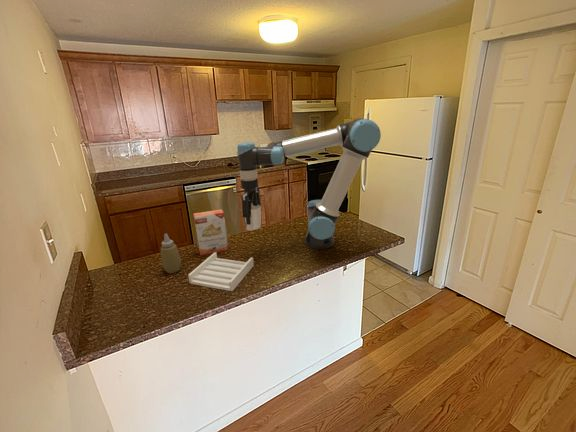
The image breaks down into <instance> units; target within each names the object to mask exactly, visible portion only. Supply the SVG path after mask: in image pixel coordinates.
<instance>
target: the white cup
mask: <svg viewBox="0 0 576 432" xmlns="http://www.w3.org/2000/svg"><path fill="white" fill-rule="evenodd" d="M251 217H252V224H253V231H254V230H259V229H261V227H262V205H261V206H260V205H257V206H254V205H253V204H252V206H251ZM244 221H245V222H246V218H244ZM246 227H247V225H246Z"/></svg>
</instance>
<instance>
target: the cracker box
mask: <svg viewBox="0 0 576 432" xmlns="http://www.w3.org/2000/svg"><path fill="white" fill-rule="evenodd" d="M193 219H194V227H195V231H196V239H197V244H198V251H199V255H200V256H205V255H210V254H211V255H212V254H213V253H214V252H216V253H221V252H226V251H229V246H228V245H229V243H228V239H227V238H228V237H227V236H228V235H227V227H226V221H225V220H226V219H225V213H224V211H223V208H220V209H215V210H207V211H201V212H195V213H193Z"/></svg>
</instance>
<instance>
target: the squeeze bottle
mask: <svg viewBox="0 0 576 432" xmlns="http://www.w3.org/2000/svg"><path fill="white" fill-rule="evenodd" d="M160 256H161V257H160V258H161V267H162V268H163V269H164V270H165V272H166V273H168V274H175V273H177V272H179V271H180V270H181V264H182V258H181V255H180V253H179V250H178V246H177V245H176V244H175V243H174V240H173V239H170V237H169V235H168V233H164V234H163V240H162V242H161V247H160Z"/></svg>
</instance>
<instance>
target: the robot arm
mask: <svg viewBox="0 0 576 432" xmlns="http://www.w3.org/2000/svg"><path fill="white" fill-rule="evenodd" d="M381 134H382V133H381V130H380V127H379V125H378V124H377V123H376V122H375V121H373V119H372V120H371V119H368V118H355V119H353V120H350V121H348V122H347V121H346V122H345V123H342V124H338V125H337V126H336V128H335V127H334V128H330V129H326V130H323V131H317V132H314V133H309V134H305V135H301V136H297V137H293V138H289V139H284V140H281V141H275V142H274V141H273V142H272V141H271V142H270V143H269V144H267V146H261V147H260V146H256V144H255V142H249V141H248V142H240V143H238V144H237V149H236V150H237V159H238V165H239V167H238V169H239V177H240V179H241V180H240V187H241V189H243V191H244V195H241V196H240V198H241V208H242V211H241V213H242V218H244V219H245V218H246V221H245V224H246V225H247V226H246V231H250V232H251V231H252V232H253V231H254V230H253V224H252V217H251V206H252V204H253V205H254V206H257V205H260V206H261V207H262V202H261V196H260V188H259V179H258V168H257V166H277V165H283V164H284V161H285V158H286V157H292V156H296V155H300V154H306V153H309V152H314V151H319V150H322V149H328V148H331V147H336V146H340V147H341V148H342V151H343V153H342V155H341V157H340V159H339V161H338V163H337V165H336V168H335V170H334V172H333V175H332V176H331V178H330V181H329V182H328V185H327V187H326V190H325V192H324V194H323V196H322V198H321V199H313V200H310V201H308V202H307V231H306V235H305V238H304V243H305V246H307V247H308V248H311V249H314V250H326V249H329V248H331V247H333V246H334V245H335V237H334V233H335V232H336V231H335V230H336V224H337V222H338V219H339V217H340V215H341V214H340V212H339V209H340V207H341V205H342V203H343V201H344V200H345V197H346V195H347V193H348V191H349V189H350V187H351V185H352V182H353V181H354V178H355V177H356V175H357V172H358V171H359V168H360V166H361V164H362V162H363V161H364V160H367V159H368V158H369V157H370V154H371V153H372V151H373V150H374V149H375V148H376V147H377V146H378V145H379V143H380V141H381V138H382V137H381Z"/></svg>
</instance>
